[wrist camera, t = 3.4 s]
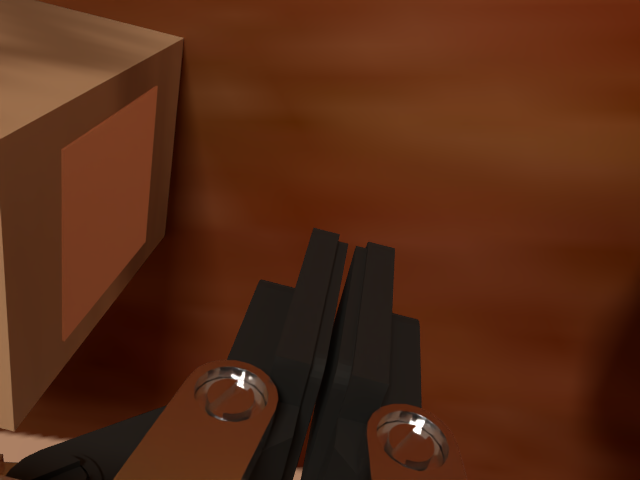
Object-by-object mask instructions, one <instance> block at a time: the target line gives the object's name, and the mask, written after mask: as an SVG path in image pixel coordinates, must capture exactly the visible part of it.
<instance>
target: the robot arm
mask: <svg viewBox="0 0 640 480" xmlns="http://www.w3.org/2000/svg"><path fill="white" fill-rule="evenodd" d="M338 240H339V234H336V233H332V232H328V231H324V230H320V229H316V228H314V229H313V232H312V235H311V238H310V242H309V245H308V248H307V251H306V255H305V258H304V261H303V265H302V268H301V271H300V274H299V278H298V281H297V284H296V288H292V287H288V286H284V285H281V284H277V283H273V282H269V281H265V280H260V281H259V283H258V285H257V288H256V290H255V293H254V295H253V298H252V300H251V302H250V305H249V307H248V310H247V312H246V315H245V317H244V320H243V322H242V325H241V327H240V329H239V332H238V334H237V337H236V339H235V342H234V344H233V347H232V349H231V351H230V354H229V356H228V359H227V360H219V361H214V362H209V363H207V364H205V365H203V366H200V367H198V368H197V369H196V370H195V371H194V372H193V373H191V374H190V375H189V376H188V378H187V379H186V380H185V382H184V383H183V385H182V386H181V387H180V389H179V390H178V391H177V393H176V394H175V395H174V397H173V398H172V400H171V401H170V402H169V404H168V405H166V406H164V407H161V408H158V409H155V410H152V411H150V412H147V413H144V414H141V415H138V416H135V417H133V418H130V419H127V420H124V421H121V422H118V423H116V424H113V425H110V426H107V427H104V428H102V429H99V430H96V431H93V432H90V433H87V434H85V435H82V436H79V437H76V438H73V439H70V440H68V441H65V442H62V443H59V444H57V445H54V446H51V447H48V448H45V449H42V450H40V451H38V452H36V453H34V454H32V455H29V456H28V457H25V458H24V459H22V460H21V461H20V462H19V463H16V462H4V460H3V454H0V480H293V477H294V474H295V470H296V467H297V464H298V460H299V457H300V453H301V450H302V446H303V443H304V439H305V436H306V433H307V429H308V426H309V422H310V419H311V415H312V412H313V409H314V413H313V419H312V424H311V429H310V434H309V439H308V445H307V450H306V455H305V460H304V466H303V471H302V476H301V480H467V478H466V474H465V470H464V467H463V463H462V459H461V455H460V452H459V448H458V445H457V442H456V440H455V438H454V436H453V434H452V432H451V431H450V430H449V429H448V427H447V426H446V425H445V424H444V423H443V422H442V421H441V420H439V419H438V418H437V417H436V416H434V415H433V414H431V413H429V412H427V411H425V410H423V409H421V366H420V326H419V321H418V320H417V319H413V318H409V317H406V316H402V315H398V314H394V313H392V302H393V279H394V257H395V249H394V248H391V247H387V246H383V245H379V244H375V243H371V242H368V243H367V246H366V248H362V247H358V246H356V248H355V251H354V255H353V258H352V262H351V265H350V269H349V272H348V276H347V279H346V283H345V286H344V290H343V293H342V297H341V300H340V304H339V307H338V311H337V314H336V318H335V312H336V307H337V302H338V296H339V291H340V285H341V280H342V275H343V269H344V264H345V258H346V253H347V248H348V244H347V243H343V242H339V241H338ZM334 318H335V321H334ZM333 323H334V325H333ZM315 402H316V403H315ZM314 405H315V408H314Z"/></svg>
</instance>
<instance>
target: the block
mask: <svg viewBox="0 0 640 480" xmlns="http://www.w3.org/2000/svg"><path fill="white" fill-rule="evenodd" d="M183 42H184V38H181V37H178V36H174V35H170V34H166V33H162V32H158V31H154V30H150V29H146V28H142V27H138V26H134V25H130V24H126V23H122V22H118V21H114V20H111V19H107V18H103V17H99V16H95V15H91V14H87V13H83V12H79V11H75V10H71V9H67V8H63V7H59V6H55V5H51V4H47V3H43V2H40V1H36V0H0V428H4V429H7V430H11V431H15V430H16V428H17V427H18V426H19V425H20V423H21V422H22V421H23V419H24V418H25V417H26V415H27V414H28V413H29V412H30V410H31V409H32V408H33V406H34V405H35V404H36V402H37V401H38V400H39V399H40V397H41V396H42V395H43V393H44V392H45V391H46V389H47V388H48V387H49V386H50V384H51V383H52V382H53V380H54V379H55V378H56V376H57V375H58V374H59V373H60V371H61V370H62V369H63V367H64V366H65V365H66V363H67V362H68V361H69V360H70V358H71V357H72V356H73V354H74V353H75V352H76V350H77V349H78V348H79V347H80V345H81V344H82V343H83V341H84V340H85V339H86V337H87V336H88V335H89V334H90V332H91V331H92V330H93V328H94V327H95V326H96V324H97V323H98V322H99V321H100V319H101V318H102V317H103V315H104V314H105V313H106V311H107V310H108V309H109V308H110V306H111V305H112V304H113V302H114V301H115V300H116V298H117V297H118V296H119V295H120V293H121V292H122V291H123V289H124V288H125V287H126V285H127V284H128V283H129V282H130V280H131V279H132V278H133V276H134V275H135V274H136V272H137V271H138V270H139V269H140V267H141V266H142V265H143V263H144V262H145V261H146V259H147V258H148V257H149V256H150V254H151V253H152V252H153V250H154V249H155V248H156V246H157V245H158V244H159V243H160V241H161V240H162V239H163V237H164V236H165V228H166V218H167V208H168V197H169V187H170V177H171V166H172V156H173V146H174V135H175V125H176V115H177V104H178V94H179V84H180V73H181V63H182V53H183Z"/></svg>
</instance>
